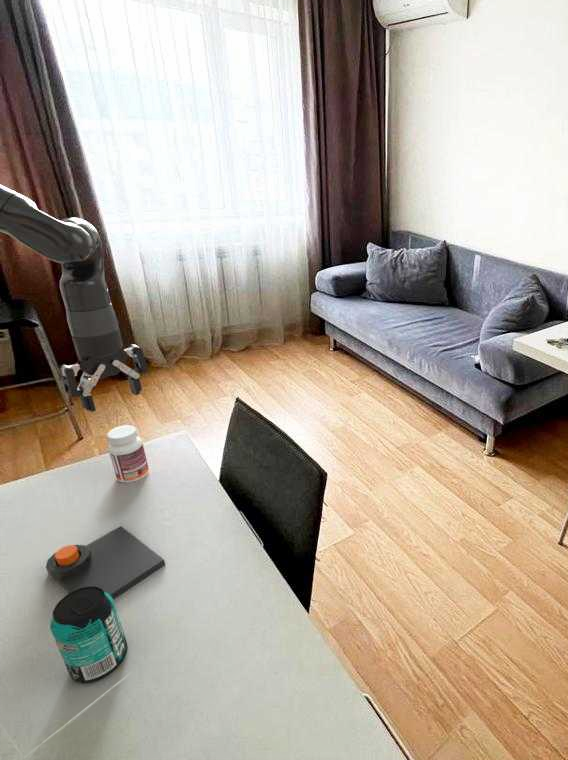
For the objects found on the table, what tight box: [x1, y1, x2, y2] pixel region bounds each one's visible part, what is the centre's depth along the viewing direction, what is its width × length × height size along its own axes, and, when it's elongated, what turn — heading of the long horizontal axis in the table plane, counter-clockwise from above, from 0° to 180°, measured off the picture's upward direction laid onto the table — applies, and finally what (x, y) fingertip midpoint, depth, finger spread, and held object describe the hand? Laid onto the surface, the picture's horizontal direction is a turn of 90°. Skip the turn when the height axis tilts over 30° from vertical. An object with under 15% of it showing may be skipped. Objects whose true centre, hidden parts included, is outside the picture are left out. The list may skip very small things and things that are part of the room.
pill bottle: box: [106, 424, 150, 484], centre depth 106 cm, size 6×6×11 cm
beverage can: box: [49, 586, 129, 684], centre depth 69 cm, size 7×7×12 cm
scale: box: [45, 525, 166, 601], centre depth 85 cm, size 14×12×3 cm
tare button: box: [55, 544, 79, 566], centre depth 83 cm, size 3×3×2 cm
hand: (114, 401), depth 100 cm, fingers open, 8 cm apart
